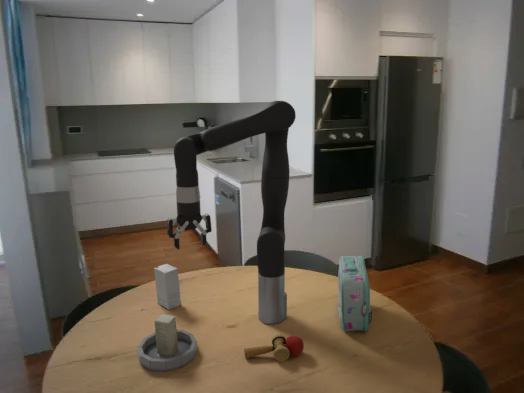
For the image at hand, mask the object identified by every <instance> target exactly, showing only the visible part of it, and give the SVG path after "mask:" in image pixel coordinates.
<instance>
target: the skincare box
mask: <svg viewBox="0 0 524 393" xmlns="http://www.w3.org/2000/svg"><path fill="white" fill-rule="evenodd" d="M153 270H154V280H155V289H156V300H157V304H159V305H160V306H162V307H163V308H165V309H166V310H169V311H170V310H172V309H174V308H177V307H180V306H181V305H182V299H181V289H180V280H179V270H178V267H175V266H172V265H170V264H169V263H164V264H162V265H161V264H160V265H157V266H156V267H154V268H153Z"/></svg>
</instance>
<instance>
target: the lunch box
mask: <svg viewBox="0 0 524 393" xmlns="http://www.w3.org/2000/svg"><path fill="white" fill-rule="evenodd" d="M365 263H366V262H365V258H364V255H363V256H362V255H357V256H356V255H351V256H350V255H341V256H340V258H339V260H338V274H337V277H338V278H337V285H338V286H337V288H338V295H337V305H336V306H337V314H338V321H339V325H340V327H341V329H342V331H344V332H349V331H350V332H351V331H352V332H353V331H364V332H367V331H369V328H370V324H372V319H373V318H372V316H373V311H371V285H370V282H369V276H368V271H367V268H366V264H365Z"/></svg>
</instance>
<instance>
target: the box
mask: <svg viewBox="0 0 524 393" xmlns="http://www.w3.org/2000/svg"><path fill="white" fill-rule="evenodd" d="M176 320H177V318H176V316H175V315H168V314H160V315H159V316H158V317H157V318H155V319H154V332H155V333H156V343H157V354H161V355H167V356H172V355H173V354H174V353H175V352H176V351H177V350H178V340H177V321H176Z"/></svg>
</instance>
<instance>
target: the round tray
mask: <svg viewBox="0 0 524 393" xmlns="http://www.w3.org/2000/svg"><path fill="white" fill-rule="evenodd" d="M177 340H178V350H177V351H176V352H175V353H174V354H173V355H172V356H167V355H161V354H157V343H156V333H155V331H154V332H153V333H151V334H149V335H147V336H146V337H144V338H143V339H142V340H140V343H139V344H138V346H137V354H138V362H139V364H140V365H141V366H142V367H143V368H144V369H147V370H149V371H153V372H168V371H169V372H170V371H175V370H177V369H180V368H183V367H185V366H187V365H188V364H189V363H190V362H192V361H193V360H194V358H195V357H196V355H197V351H198V350H197V349H198V344H197V343H198V341H197V339H196V338H195V336H194V334H193V333H191V332H189V331H187V330H184V329H177Z"/></svg>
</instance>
